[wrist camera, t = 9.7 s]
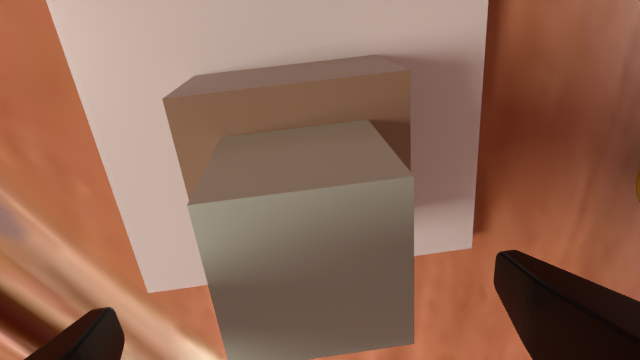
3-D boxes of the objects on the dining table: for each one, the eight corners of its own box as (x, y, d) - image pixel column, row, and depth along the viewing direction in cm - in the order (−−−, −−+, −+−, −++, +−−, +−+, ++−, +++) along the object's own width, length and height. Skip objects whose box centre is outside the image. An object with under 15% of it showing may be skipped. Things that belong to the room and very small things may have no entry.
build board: (480, -140, 16) (597, -230, 10) (460, 234, 23) (522, 310, 17) (32, -98, 15) (-127, -169, 9) (156, 276, 22) (111, 370, 17)
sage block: (368, 119, 13) (414, 176, 9) (373, 243, 15) (414, 343, 11) (220, 137, 13) (187, 205, 8) (246, 261, 15) (230, 370, 10)
